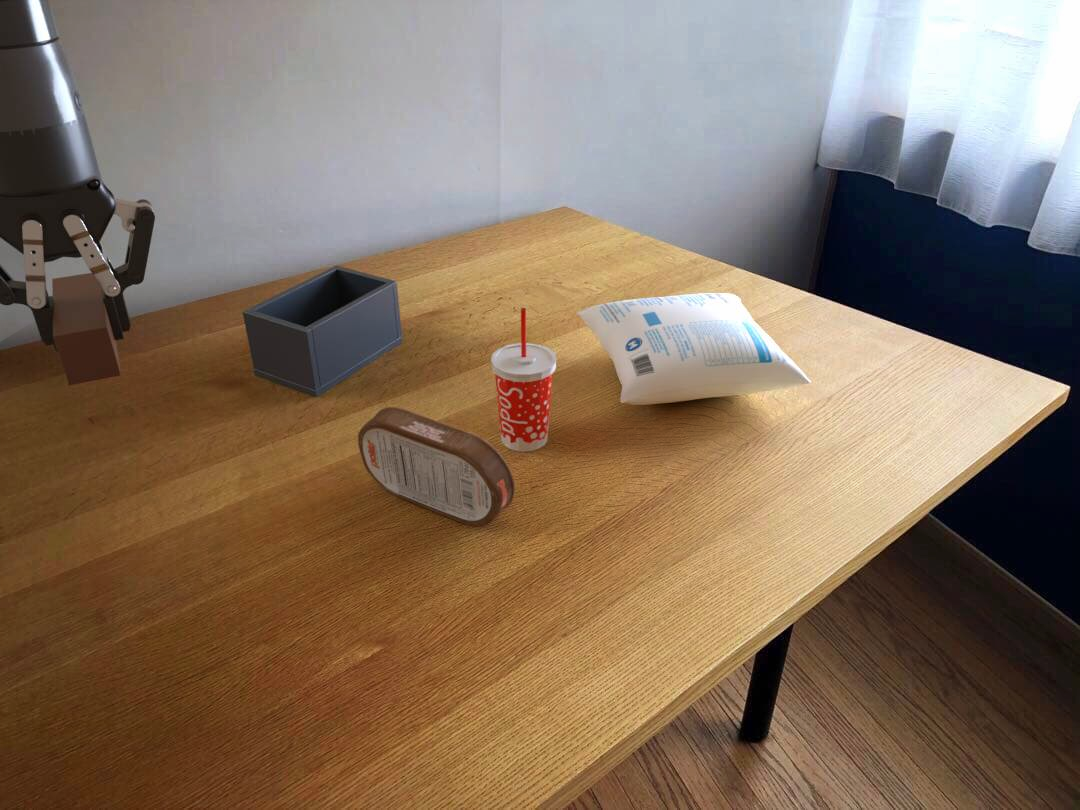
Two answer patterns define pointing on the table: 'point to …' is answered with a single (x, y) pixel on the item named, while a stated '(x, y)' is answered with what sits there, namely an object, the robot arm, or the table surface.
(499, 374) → the beverage cup
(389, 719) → the table surface
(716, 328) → the pouch
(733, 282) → the table surface
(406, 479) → the tin
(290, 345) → the bin
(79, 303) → the brown block
